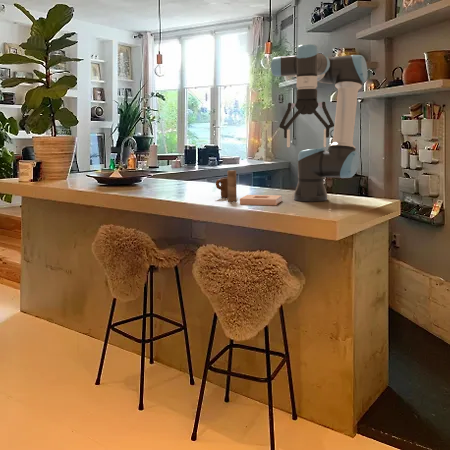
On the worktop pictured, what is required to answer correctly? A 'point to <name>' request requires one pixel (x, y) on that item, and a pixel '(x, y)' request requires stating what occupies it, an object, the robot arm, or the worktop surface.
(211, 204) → the worktop surface
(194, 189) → the worktop surface
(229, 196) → the peg
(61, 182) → the worktop surface
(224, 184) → the mug
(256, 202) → the socket plate
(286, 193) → the worktop surface
